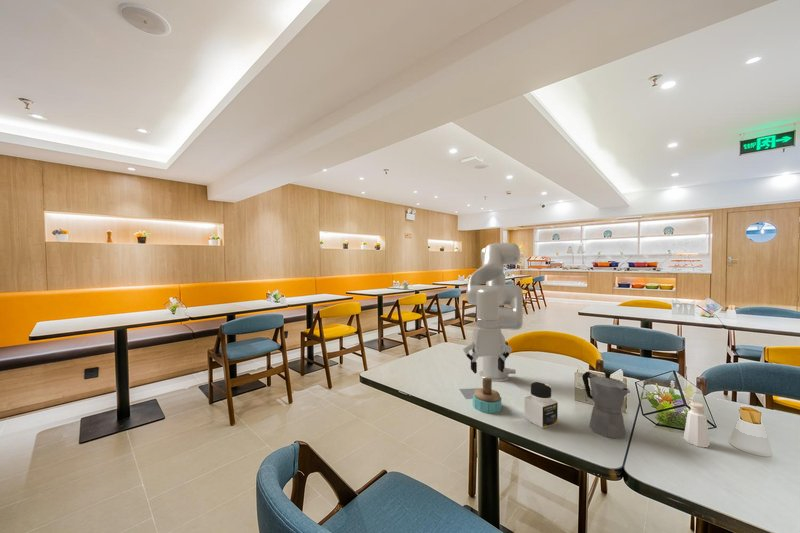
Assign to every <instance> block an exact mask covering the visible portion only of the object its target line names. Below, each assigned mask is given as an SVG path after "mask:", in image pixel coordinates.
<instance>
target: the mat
mask: <svg viewBox="0 0 800 533" xmlns="http://www.w3.org/2000/svg"><path fill="white" fill-rule="evenodd" d="M477 389H481V387H477V388H476V387H475V388H474V387H473V388H459V391H460V393H461V395H463V397H464V399H466V400H470V399H471V400H473V394H474V393H475V390H477Z"/></svg>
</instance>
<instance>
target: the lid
mask: <svg viewBox="0 0 800 533" xmlns="http://www.w3.org/2000/svg"><path fill="white" fill-rule="evenodd" d="M492 382H493V381H492V379H491V378H482V388H481V387H480V388H481V389H477V390H475V397H476V398H477V399H479V400H481V401H484V402H496V401H498V400H499V399H500V397H501V394H500V392H499V391H497V390H495V389H492V386H493V385H492Z"/></svg>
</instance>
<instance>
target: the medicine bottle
mask: <svg viewBox="0 0 800 533" xmlns="http://www.w3.org/2000/svg"><path fill="white" fill-rule="evenodd" d="M558 403H559V402H558V401H557V400H555V399H553V398H552V387H551V385H550V384H548V383H546V382H541V381H535V382H532V383H531V384H530V395H528V396H525V397H524V414H523V415H524V416H523V417H524V419H525V420H526V421H528V422H530V423H531V424H534V425H535V426H537V427H539V428H541V429H547V428H549V427H552V426H554V425H556V424H558V420H559V419H558V414H559V413H558V412H559V410H558V408H559V407H558Z"/></svg>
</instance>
